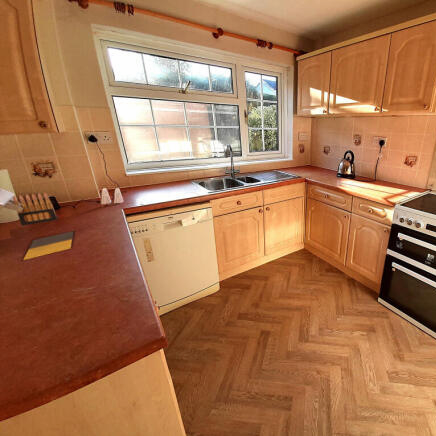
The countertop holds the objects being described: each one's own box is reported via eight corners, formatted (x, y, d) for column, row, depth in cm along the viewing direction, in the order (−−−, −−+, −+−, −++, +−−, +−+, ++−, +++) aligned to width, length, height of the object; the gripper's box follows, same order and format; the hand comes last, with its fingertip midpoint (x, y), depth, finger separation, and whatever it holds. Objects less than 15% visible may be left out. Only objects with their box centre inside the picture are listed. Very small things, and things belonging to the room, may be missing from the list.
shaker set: (102, 206, 155) (96, 190, 151) (102, 205, 158) (96, 188, 154) (124, 202, 162) (119, 186, 157) (123, 201, 165) (118, 185, 160)
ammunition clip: (58, 218, 105) (48, 191, 100) (57, 219, 103) (47, 192, 99) (22, 224, 98) (10, 195, 94) (21, 225, 97) (9, 196, 93)
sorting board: (24, 262, 93) (22, 259, 93) (34, 242, 110) (33, 239, 109) (71, 250, 101) (70, 248, 101) (74, 233, 118) (73, 231, 117)
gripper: (-24, 191, 95) (22, 209, 104) (-45, 203, 80) (12, 222, 89) (-13, 178, 95) (32, 197, 105) (-31, 187, 80) (23, 208, 90)
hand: (23, 209), depth 97 cm, fingers closed on ammunition clip, 2 cm apart
